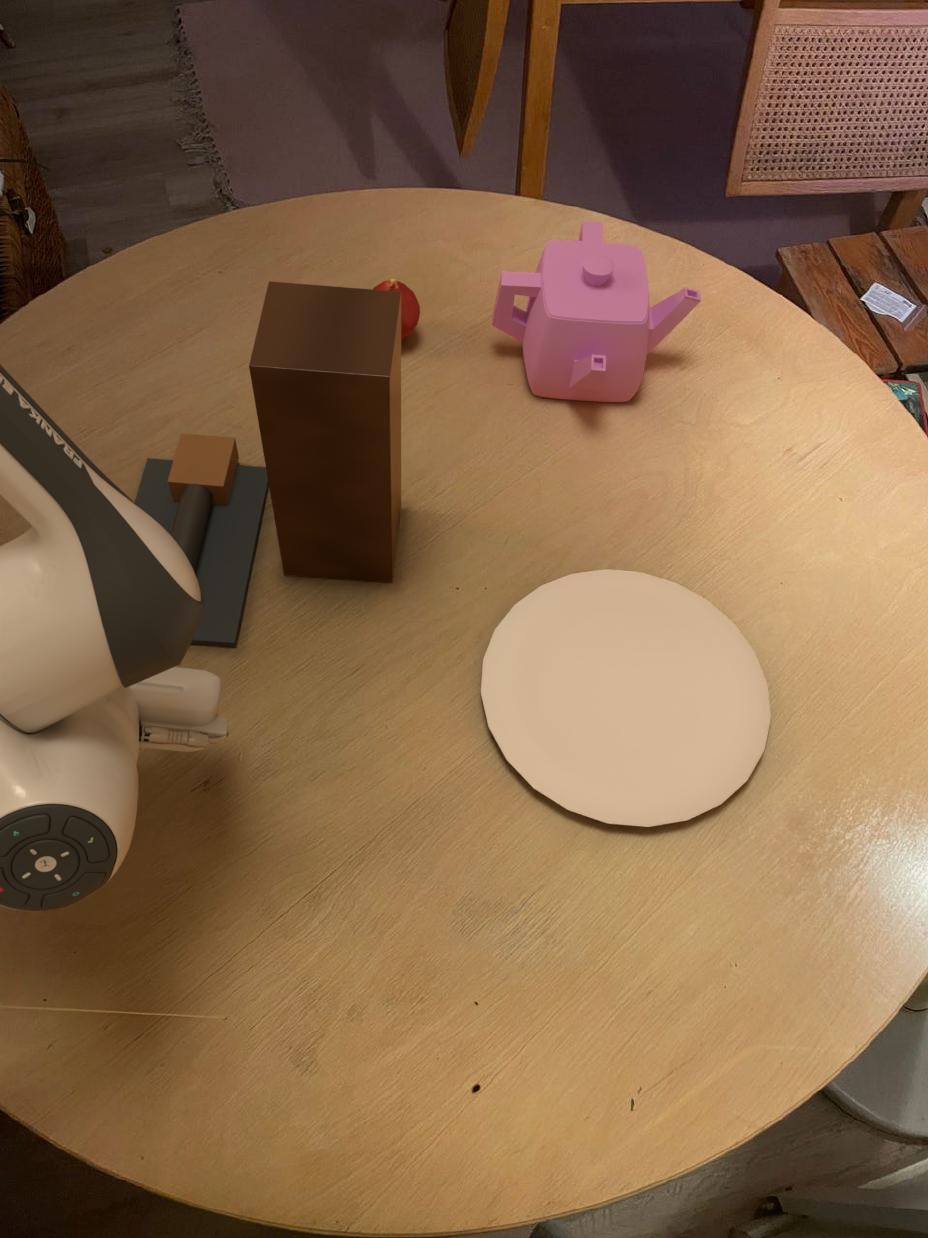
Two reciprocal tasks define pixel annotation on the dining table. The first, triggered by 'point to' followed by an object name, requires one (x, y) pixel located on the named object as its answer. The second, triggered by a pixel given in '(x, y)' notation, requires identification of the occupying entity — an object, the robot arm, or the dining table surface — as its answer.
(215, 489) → the brown block with handle
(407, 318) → the onion
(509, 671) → the plate
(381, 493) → the post
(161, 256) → the dining table surface
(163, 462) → the felt mat
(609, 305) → the teakettle
